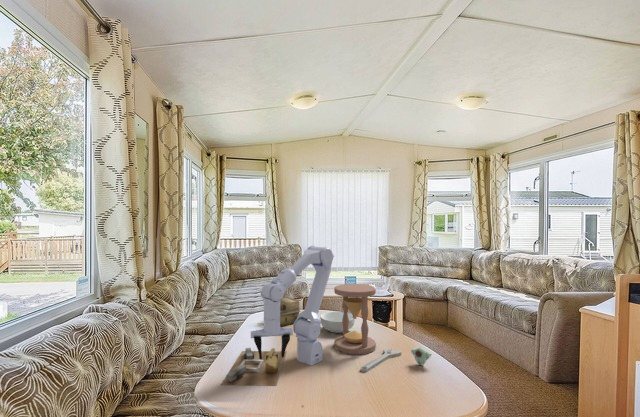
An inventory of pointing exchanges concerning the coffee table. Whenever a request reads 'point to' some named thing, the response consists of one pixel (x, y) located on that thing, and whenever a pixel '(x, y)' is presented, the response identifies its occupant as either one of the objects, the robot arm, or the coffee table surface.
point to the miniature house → (288, 311)
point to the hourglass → (354, 339)
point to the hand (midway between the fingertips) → (271, 357)
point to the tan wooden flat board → (252, 370)
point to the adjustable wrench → (380, 359)
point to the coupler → (271, 362)
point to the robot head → (420, 355)
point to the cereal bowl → (335, 321)
